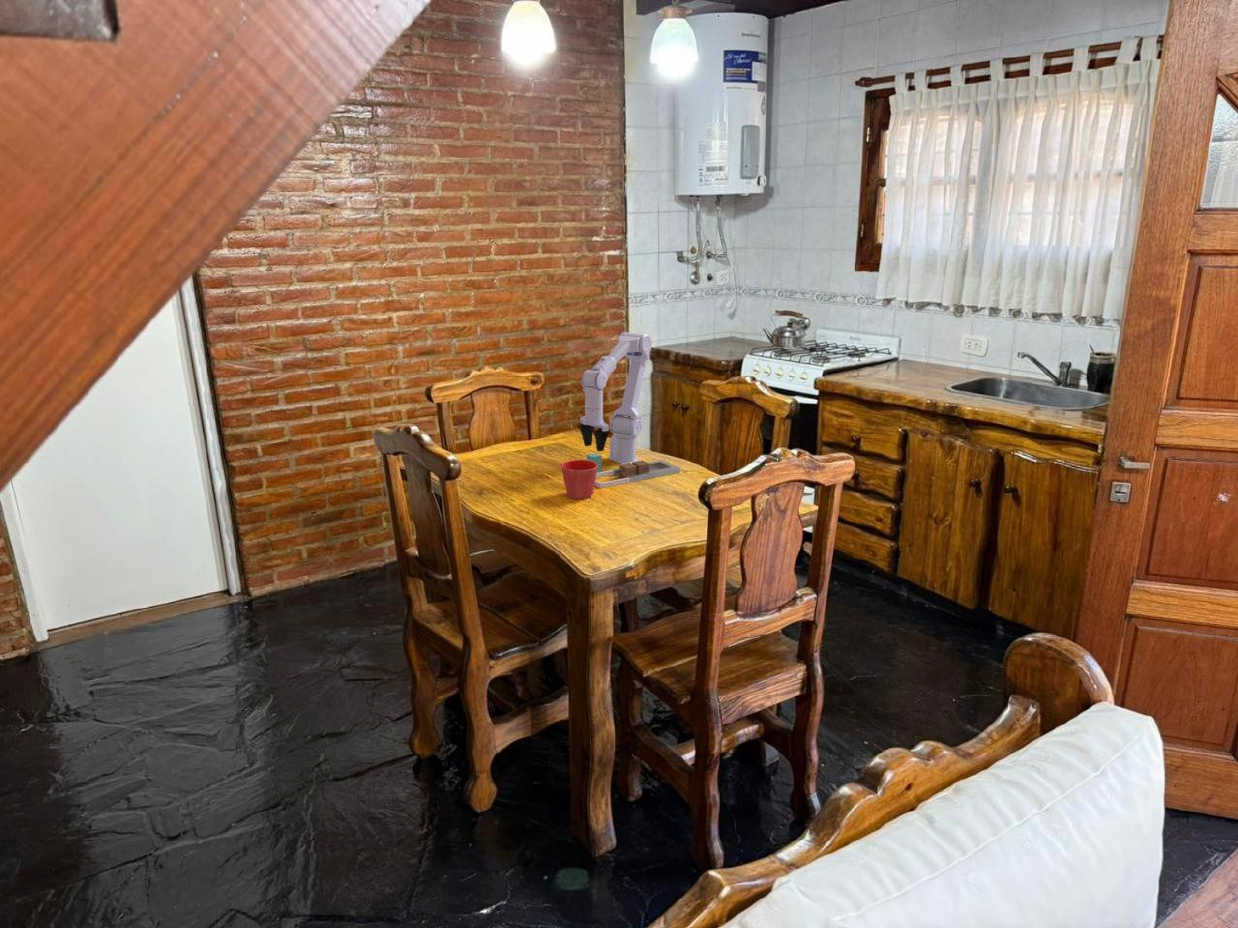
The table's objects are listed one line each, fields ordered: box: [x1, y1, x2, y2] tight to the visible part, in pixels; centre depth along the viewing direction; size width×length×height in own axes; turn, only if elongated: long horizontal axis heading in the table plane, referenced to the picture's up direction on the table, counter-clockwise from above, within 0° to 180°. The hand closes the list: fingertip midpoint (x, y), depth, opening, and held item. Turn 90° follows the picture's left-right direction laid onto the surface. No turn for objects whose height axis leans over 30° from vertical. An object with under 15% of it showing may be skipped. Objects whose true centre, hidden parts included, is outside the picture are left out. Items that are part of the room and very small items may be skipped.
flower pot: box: [561, 459, 598, 500], centre depth 252 cm, size 11×11×10 cm
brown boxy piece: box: [618, 463, 636, 479], centre depth 269 cm, size 4×4×4 cm
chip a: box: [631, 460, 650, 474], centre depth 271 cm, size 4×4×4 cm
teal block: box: [586, 452, 603, 473], centre depth 273 cm, size 6×5×6 cm
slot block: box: [612, 459, 681, 483], centre depth 273 cm, size 10×20×2 cm, turn 123°
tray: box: [594, 469, 631, 489], centre depth 265 cm, size 10×11×2 cm
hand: (594, 448), depth 272 cm, fingers open, 7 cm apart
